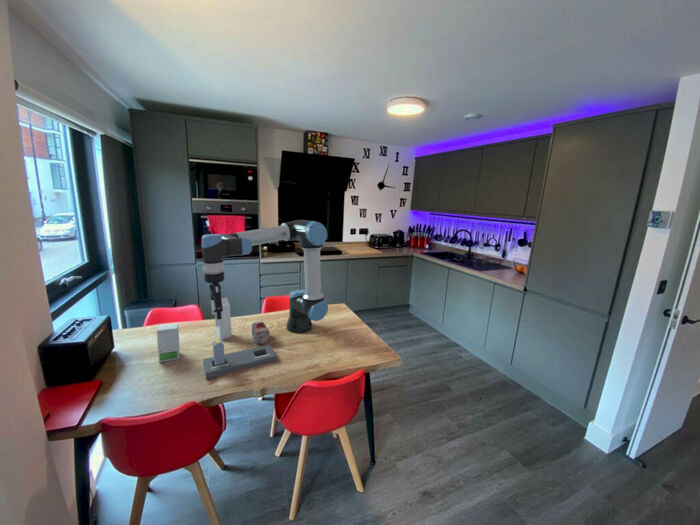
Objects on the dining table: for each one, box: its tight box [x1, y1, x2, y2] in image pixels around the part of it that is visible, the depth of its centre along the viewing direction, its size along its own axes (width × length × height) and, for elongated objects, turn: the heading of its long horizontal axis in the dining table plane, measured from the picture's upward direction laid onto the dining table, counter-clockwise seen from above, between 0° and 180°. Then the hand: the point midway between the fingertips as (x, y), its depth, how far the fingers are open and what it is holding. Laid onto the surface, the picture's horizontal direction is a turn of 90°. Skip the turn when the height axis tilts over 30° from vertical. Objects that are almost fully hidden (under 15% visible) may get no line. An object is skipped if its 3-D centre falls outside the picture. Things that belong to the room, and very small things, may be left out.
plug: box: [212, 338, 225, 367], centre depth 126 cm, size 4×4×13 cm
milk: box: [215, 297, 232, 341], centre depth 154 cm, size 6×6×22 cm
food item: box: [251, 321, 271, 346], centre depth 153 cm, size 14×8×10 cm, turn 32°
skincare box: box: [156, 322, 181, 363], centre depth 133 cm, size 8×7×16 cm
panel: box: [202, 344, 278, 380], centre depth 132 cm, size 30×12×3 cm, turn 121°
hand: (217, 319), depth 123 cm, fingers open, 13 cm apart
